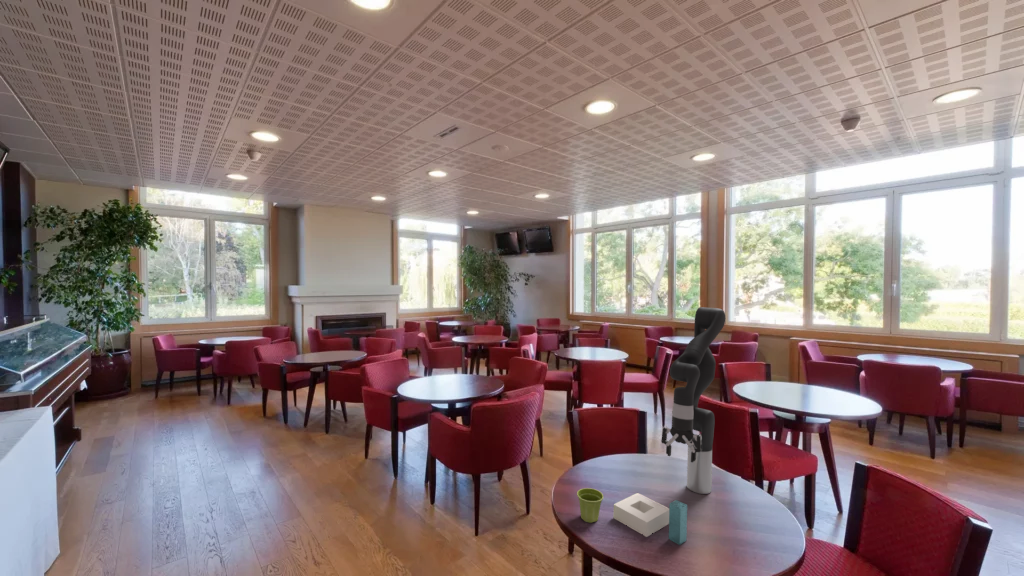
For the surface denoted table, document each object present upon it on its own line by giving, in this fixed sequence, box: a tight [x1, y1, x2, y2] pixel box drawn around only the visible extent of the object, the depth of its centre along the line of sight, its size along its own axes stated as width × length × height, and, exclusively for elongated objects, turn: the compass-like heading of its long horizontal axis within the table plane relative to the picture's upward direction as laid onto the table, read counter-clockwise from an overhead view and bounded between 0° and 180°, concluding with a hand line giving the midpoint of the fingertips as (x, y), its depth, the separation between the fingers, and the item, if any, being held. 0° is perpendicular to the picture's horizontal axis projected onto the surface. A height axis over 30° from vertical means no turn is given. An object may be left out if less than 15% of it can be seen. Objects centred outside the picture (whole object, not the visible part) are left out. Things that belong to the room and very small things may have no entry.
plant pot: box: [576, 487, 604, 524], centre depth 153 cm, size 9×9×9 cm
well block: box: [612, 492, 669, 538], centre depth 152 cm, size 14×14×5 cm
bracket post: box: [668, 499, 688, 546], centre depth 141 cm, size 4×4×12 cm
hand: (680, 458), depth 161 cm, fingers open, 8 cm apart
